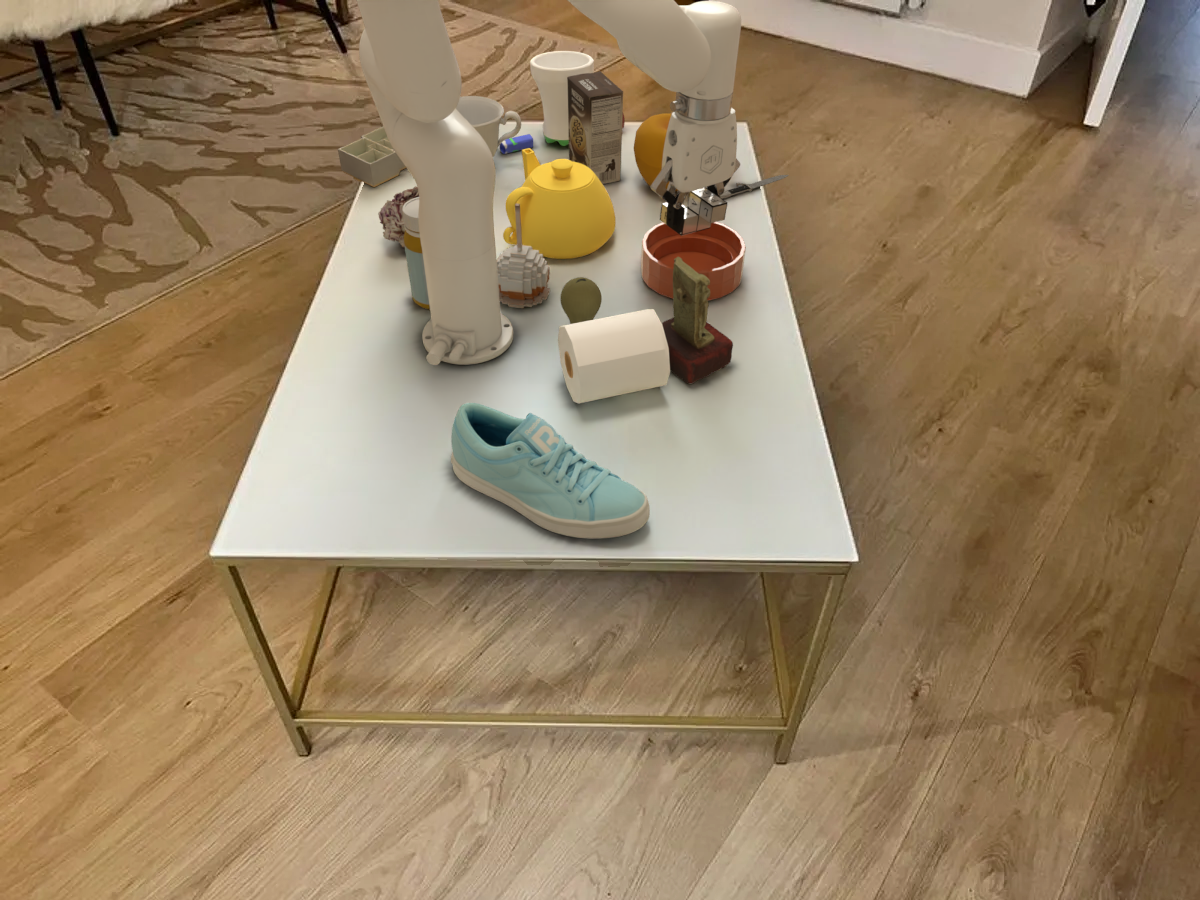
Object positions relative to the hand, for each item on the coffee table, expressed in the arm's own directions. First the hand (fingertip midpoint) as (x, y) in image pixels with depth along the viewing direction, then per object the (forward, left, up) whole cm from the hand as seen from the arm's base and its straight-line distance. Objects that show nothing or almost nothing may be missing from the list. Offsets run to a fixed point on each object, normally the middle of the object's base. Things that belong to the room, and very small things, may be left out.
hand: (691, 221), depth 146 cm
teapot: (+6, +24, -9) cm, 26 cm away
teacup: (+25, +42, -9) cm, 50 cm away
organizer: (+28, +55, -5) cm, 62 cm away
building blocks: (-3, -3, +2) cm, 5 cm away
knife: (+32, -4, -9) cm, 33 cm away
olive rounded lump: (-20, +11, -10) cm, 25 cm away
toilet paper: (-25, -1, -4) cm, 25 cm away
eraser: (+32, +37, -8) cm, 50 cm away
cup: (+38, +31, -9) cm, 50 cm away
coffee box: (+28, +22, -10) cm, 37 cm away
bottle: (-16, +35, -9) cm, 39 cm away
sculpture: (-20, -4, -9) cm, 23 cm away
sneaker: (-50, +7, -10) cm, 52 cm away
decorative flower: (-2, +42, -10) cm, 43 cm away
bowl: (0, 0, -9) cm, 9 cm away
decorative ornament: (-12, +23, -9) cm, 27 cm away
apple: (+27, +9, -9) cm, 30 cm away
